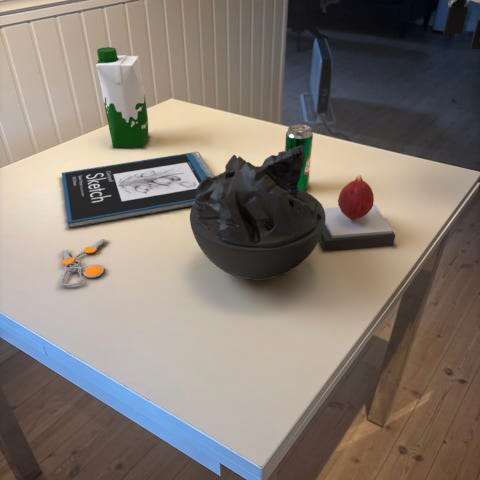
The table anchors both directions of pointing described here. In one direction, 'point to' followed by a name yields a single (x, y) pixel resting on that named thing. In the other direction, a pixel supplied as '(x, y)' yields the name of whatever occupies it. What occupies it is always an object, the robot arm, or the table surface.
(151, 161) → the sketchbook
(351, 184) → the onion
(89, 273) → the key chain
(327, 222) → the scale
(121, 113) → the milk carton
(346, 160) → the table surface
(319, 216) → the coal bowl
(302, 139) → the soda can
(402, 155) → the table surface
